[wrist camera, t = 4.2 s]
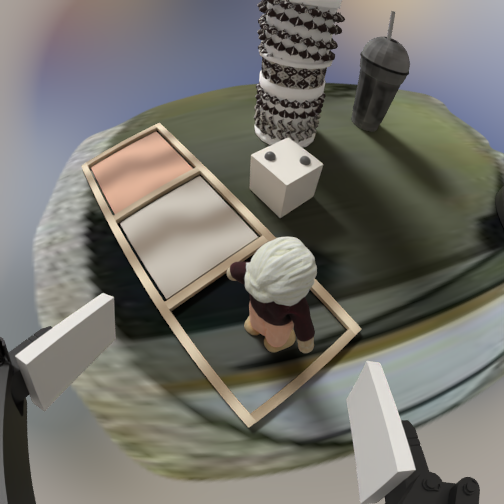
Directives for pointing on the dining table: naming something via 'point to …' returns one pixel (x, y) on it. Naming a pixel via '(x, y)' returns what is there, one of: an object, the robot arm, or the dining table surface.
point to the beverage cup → (379, 79)
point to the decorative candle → (294, 67)
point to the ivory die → (284, 176)
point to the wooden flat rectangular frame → (187, 238)
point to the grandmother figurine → (279, 293)
